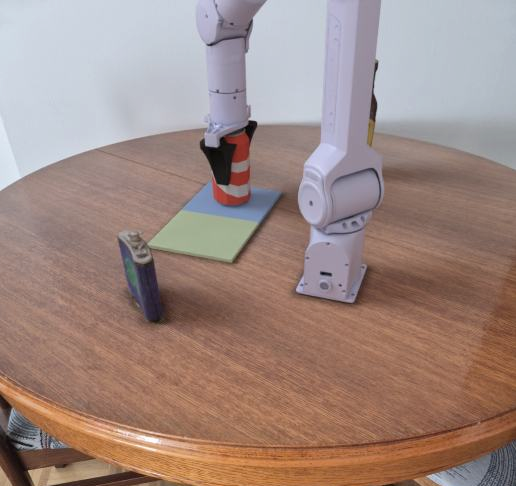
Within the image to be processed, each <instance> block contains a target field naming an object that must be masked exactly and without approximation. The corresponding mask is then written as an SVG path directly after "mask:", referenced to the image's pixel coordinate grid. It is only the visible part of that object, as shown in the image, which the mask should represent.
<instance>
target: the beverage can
mask: <svg viewBox="0 0 516 486" xmlns="http://www.w3.org/2000/svg"><path fill="white" fill-rule="evenodd" d="M225 141H227V143H232V144H237V147H236V149H235V152H234V155H233V159H232V165H231V179H230V183H229V185H228V186H225V185H218V184H216V181H215V178H214V175H213V172H212V171H211V182H212V183H213V197H214V199H215V200H216V201H217V202H218V203H221V204H222V205H225V206H238V205H241V204H243V203H244V202H246V201H248V200H249V198H250V196H251V191H250V187H251V160H250V159H251V155H250V154H251V153H250V148H249V138H248V136H247V134H246V133H245V128H244V127H243V128H241V129H238V130H236V131H234V132H231V133H229V134H227V135H225Z"/></svg>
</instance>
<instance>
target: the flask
mask: <svg viewBox="0 0 516 486" xmlns="http://www.w3.org/2000/svg"><path fill="white" fill-rule="evenodd" d="M143 234H144V230H141V229H139V230H138V231H136V230H135V231H133V230H129V229H126V230H122V231H119V232H118V233H117V234H116V239H117V242H118V247H119V252H120V256H121V260H122V265H123V269H124V275H125V281H126V284H127V291H128V293H129V297H130V298H133V300H134V303H135V305H136V307H138V308H139V309H140V312H141V313H142V314H143V317H144V319H145V321H146V322H147V323H150V324H152V325H155V324H158V323H161V322H162V321H163V320H164V319H165V313H164V310H163V305H162V301H161V294H160V289H159V283H158V278H157V272H156V266H155V259H154V255H153V253H152V250H151V248H149V246H148V242H146V241H145V240H144V238H142V237H141V235H143Z"/></svg>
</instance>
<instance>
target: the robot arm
mask: <svg viewBox="0 0 516 486" xmlns="http://www.w3.org/2000/svg"><path fill="white" fill-rule="evenodd" d="M267 1H268V0H198V1H197V3H196V6H195V23H196V29H197V32H198V35H199V37H200V39H201V41H202V42H203V43H204V45H205V59H206V71H207V74H206V75H207V88H208V101H209V113H208V114H206V115H205V116H203V122H204V123H208V124H207V130H206V131H205V132H204V137H203V138H202V139H201V140H200V141H199V149H200V150H201V151H202V153H203V154H204V156H205V158H206V159H207V162H208V164H209V165H210V166H209V167H210V169H211V173H212V172H213V175H214V178H215V181H216V184H218V185H225V186H228V185H229V183H230V179H231V165H232V159H233V155H234V152H235V149H236V147H237V144H232V143H227V141H225V135H227V134H229V133H231V132H234V131H236V130H238V129H241V128H243V127H244V128H245V133H246V134H247V136H248V138H249V149H251V148H250V147H251V144H252V140H253V137H254V135H255V132H256V130H257V128H258V121H256V120H253V119H252V120H251V119H250V118H251V117H252V105H251V104H248V102H247V101H248V100H247V97H248V96H247V64H246V63H247V62H246V60H247V59H246V54H248V53H249V50H250V38H251V35H252V32H253V27H254V17H255V16H256V15H257V14H258V13H259V11H260V10H261V8H262V7H263V6H264V5H265V4H266V3H267ZM381 6H382V0H326V21H325V39H324V62H323V81H322V83H323V84H322V103H321V105H322V106H321V124H320V125H321V127H320V143H319V144H318V146H317V147H316V149H315V150H314V151H313V152H312V154H311V155H310V156H309V157H308V158H307V160H306V161H305V163H303V173H302V178H301V179H302V180H301V182H300V184H299V187H298V192H297V202H298V207H299V211H300V213H301V215H302V217H303V218H304V219H305V221H306V222H307V223H308V224H309V225H310V232H309V244H308V246H307V248H306V250H305V253H304V265H303V266H304V267H303V274H302V277H301V278H300V281H299V282H298V284H297V286H296V288H295V292H296V293H297V294H301V295H306V296H312V297H316V298H321V299H327V300H332V301H336V302H337V301H338V302H344V303H349V304H353V303H355V302H356V299H357V296H358V293H359V291H360V287H361V285H362V282H363V280H364V277H365V275H366V272H367V270H368V265H367V264H366V263H363V255H364V246H365V240H366V232H367V231H366V230H367V223H368V221H369V220H371V219H372V215H373V211H374V210H376V209H378V208H379V207H380V206H381V204H382V203H383V201H384V198H385V181H384V177H383V161H384V158H383V156H381V155H380V154H379V153H378V152H377V151H376V150H375V149H374V148H373V147H370V146H368V145H367V137H368V127H369V117H370V107H371V97H372V87H373V78H374V68H375V59H377V57H376V56H377V47H378V39H379V38H378V37H379V29H380V28H379V27H380V18H381V17H380V16H381Z"/></svg>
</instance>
